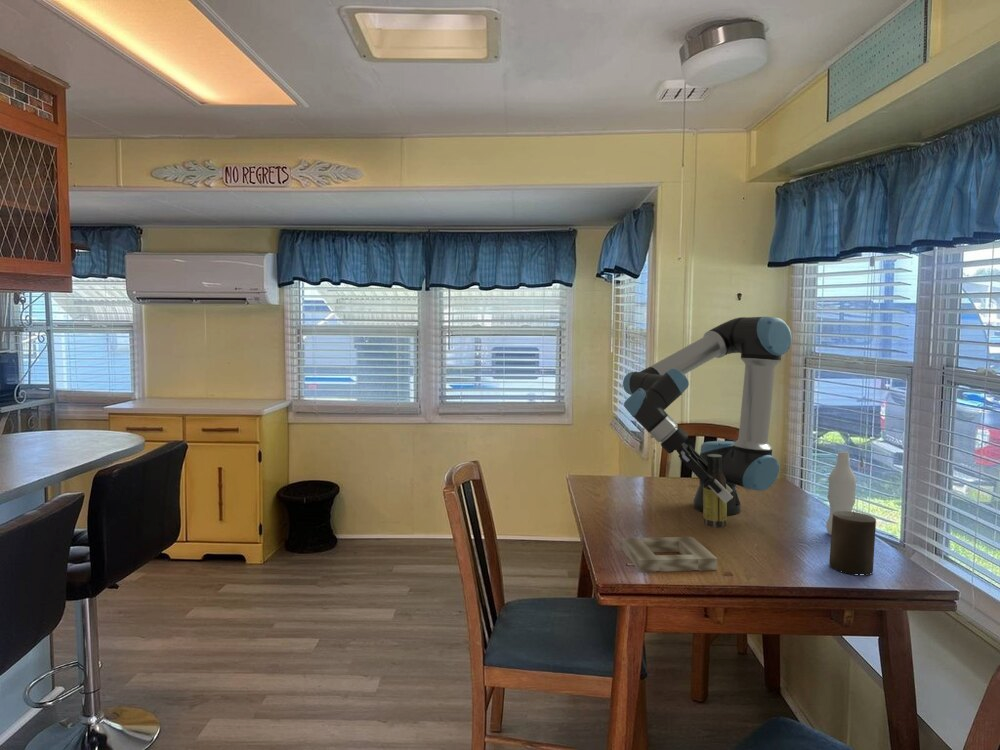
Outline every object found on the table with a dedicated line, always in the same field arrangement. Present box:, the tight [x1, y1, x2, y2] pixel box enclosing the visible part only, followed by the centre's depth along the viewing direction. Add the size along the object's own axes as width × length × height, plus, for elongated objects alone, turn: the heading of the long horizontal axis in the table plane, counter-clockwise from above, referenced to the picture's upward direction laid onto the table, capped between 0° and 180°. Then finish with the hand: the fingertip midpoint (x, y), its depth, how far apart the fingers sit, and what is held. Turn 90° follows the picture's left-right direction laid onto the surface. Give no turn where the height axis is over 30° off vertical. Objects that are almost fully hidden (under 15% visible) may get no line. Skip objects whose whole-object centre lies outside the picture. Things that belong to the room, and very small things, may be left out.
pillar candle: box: [828, 510, 877, 576], centre depth 155 cm, size 10×10×15 cm
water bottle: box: [825, 450, 857, 536], centre depth 179 cm, size 7×7×25 cm
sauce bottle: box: [702, 454, 728, 529], centre depth 169 cm, size 6×6×20 cm
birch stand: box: [621, 536, 718, 573], centre depth 160 cm, size 20×16×3 cm
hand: (728, 496), depth 168 cm, fingers closed on sauce bottle, 6 cm apart
